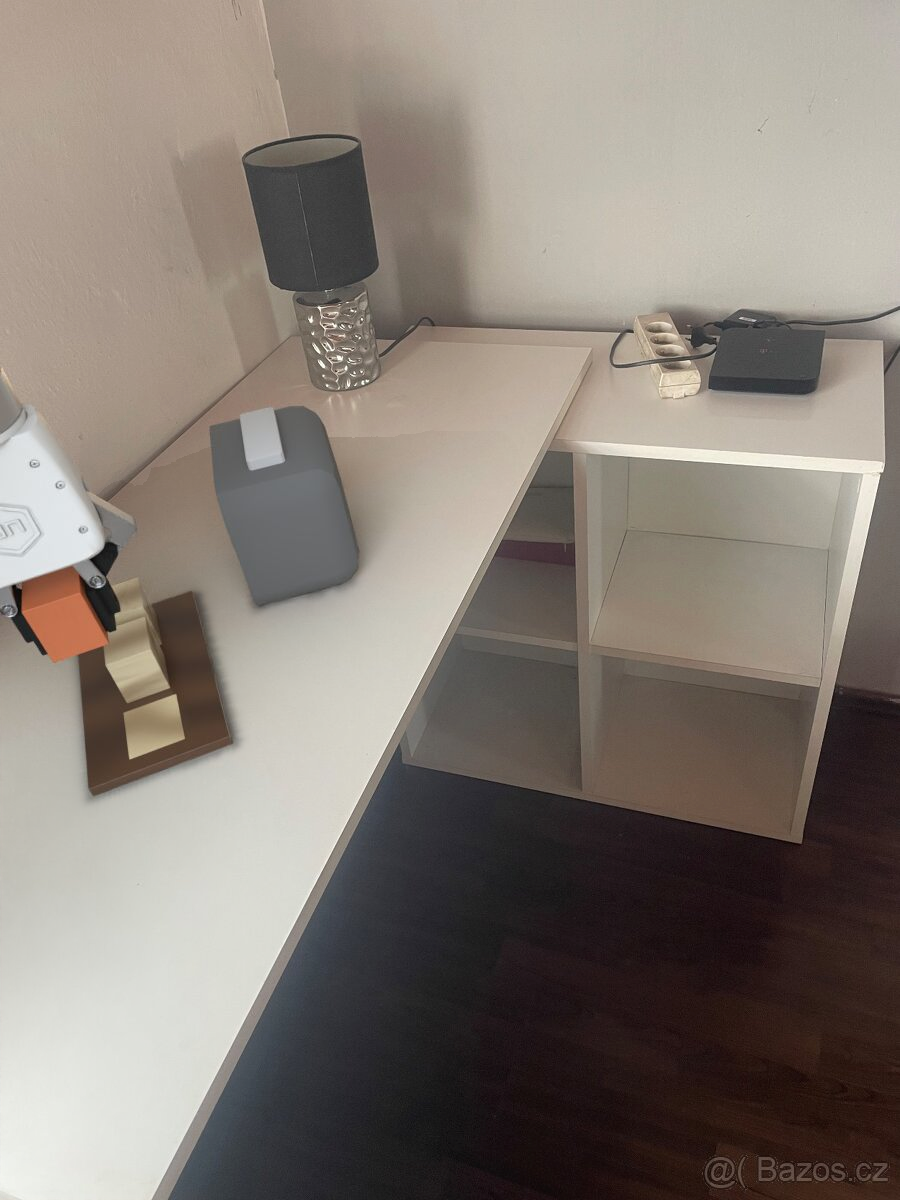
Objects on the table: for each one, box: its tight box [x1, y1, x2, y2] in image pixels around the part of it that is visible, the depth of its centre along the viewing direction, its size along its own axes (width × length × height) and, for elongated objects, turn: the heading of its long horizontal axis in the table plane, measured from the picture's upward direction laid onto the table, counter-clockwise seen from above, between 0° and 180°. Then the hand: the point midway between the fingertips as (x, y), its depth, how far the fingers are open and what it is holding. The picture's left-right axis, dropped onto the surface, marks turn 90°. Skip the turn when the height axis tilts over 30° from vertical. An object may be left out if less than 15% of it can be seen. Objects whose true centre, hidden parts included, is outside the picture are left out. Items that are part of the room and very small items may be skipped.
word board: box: [77, 590, 233, 797], centre depth 81 cm, size 22×12×1 cm, turn 21°
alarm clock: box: [209, 405, 360, 607], centre depth 88 cm, size 16×11×16 cm
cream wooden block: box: [104, 617, 170, 703], centre depth 79 cm, size 5×4×5 cm
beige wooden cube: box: [111, 576, 162, 645], centre depth 84 cm, size 5×4×5 cm
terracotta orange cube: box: [21, 566, 109, 664], centre depth 63 cm, size 5×4×5 cm
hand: (78, 629), depth 64 cm, fingers closed on terracotta orange cube, 4 cm apart
